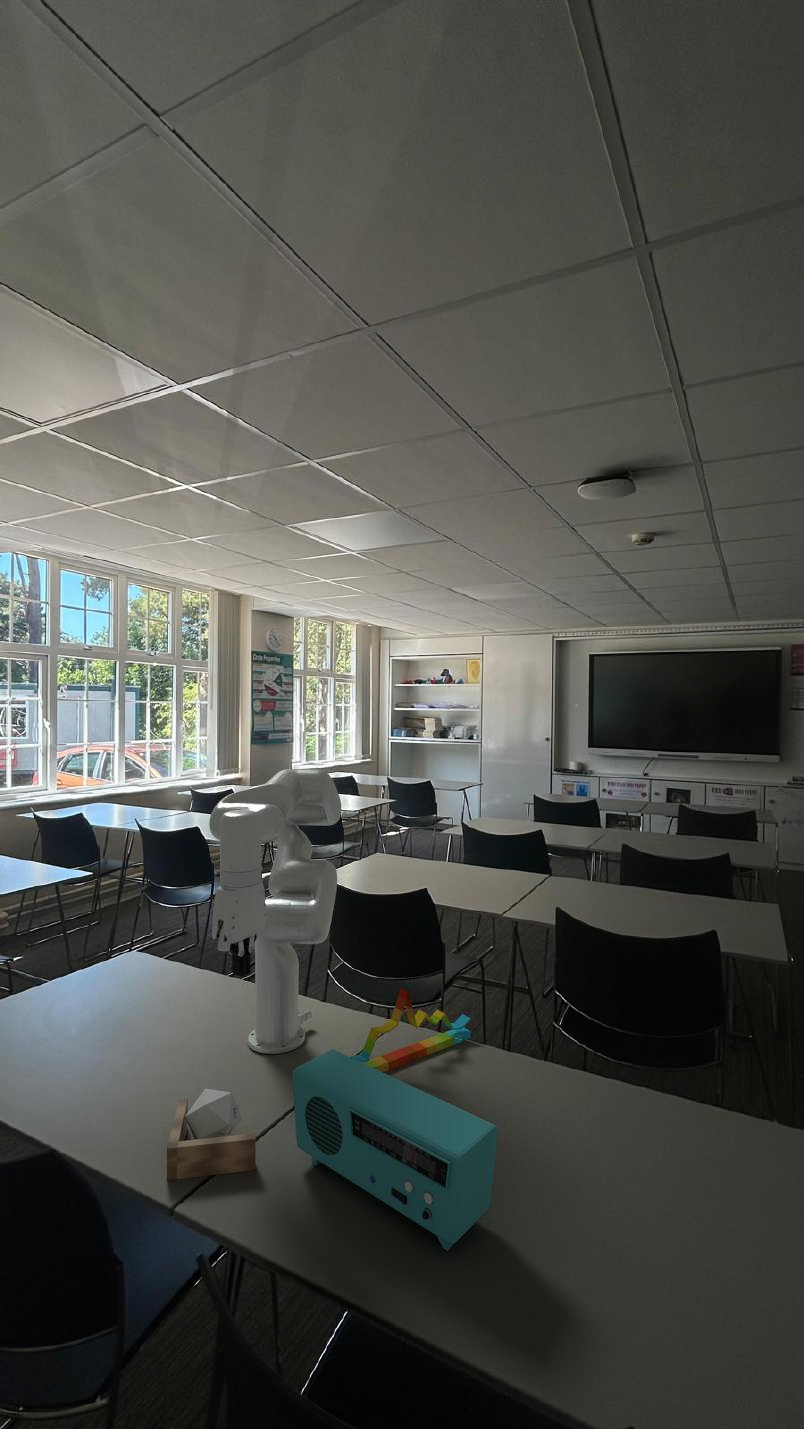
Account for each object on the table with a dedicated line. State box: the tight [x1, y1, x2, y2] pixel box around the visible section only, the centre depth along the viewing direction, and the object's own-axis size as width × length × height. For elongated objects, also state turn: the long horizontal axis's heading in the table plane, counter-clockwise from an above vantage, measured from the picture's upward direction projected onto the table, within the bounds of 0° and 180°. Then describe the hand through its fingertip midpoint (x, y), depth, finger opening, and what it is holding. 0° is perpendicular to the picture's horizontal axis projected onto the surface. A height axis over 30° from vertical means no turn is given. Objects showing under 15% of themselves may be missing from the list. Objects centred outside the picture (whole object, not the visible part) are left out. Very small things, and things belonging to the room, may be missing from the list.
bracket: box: [166, 1098, 257, 1181], centre depth 109 cm, size 11×19×5 cm, turn 56°
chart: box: [349, 988, 471, 1073], centre depth 143 cm, size 30×3×15 cm, turn 127°
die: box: [185, 1088, 243, 1140], centre depth 115 cm, size 8×9×10 cm
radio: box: [291, 1049, 499, 1252], centre depth 102 cm, size 34×10×15 cm, turn 50°
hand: (241, 973), depth 126 cm, fingers closed
